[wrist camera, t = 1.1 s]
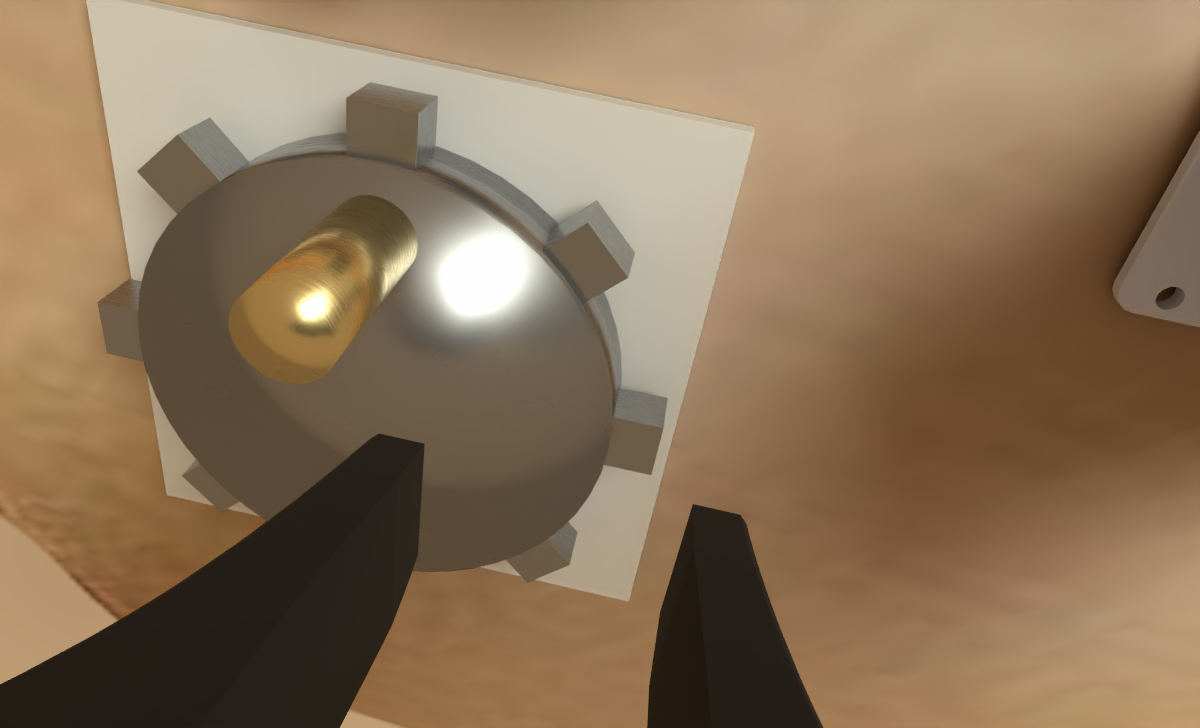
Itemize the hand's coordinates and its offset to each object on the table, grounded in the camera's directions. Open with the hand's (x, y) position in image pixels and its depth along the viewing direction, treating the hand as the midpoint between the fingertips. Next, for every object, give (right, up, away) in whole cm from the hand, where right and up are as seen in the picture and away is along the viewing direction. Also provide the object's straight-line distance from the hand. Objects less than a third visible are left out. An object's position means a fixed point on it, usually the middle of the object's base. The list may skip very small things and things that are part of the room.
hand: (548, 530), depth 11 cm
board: (-4, +3, +10) cm, 11 cm away
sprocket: (-4, +3, +10) cm, 11 cm away
